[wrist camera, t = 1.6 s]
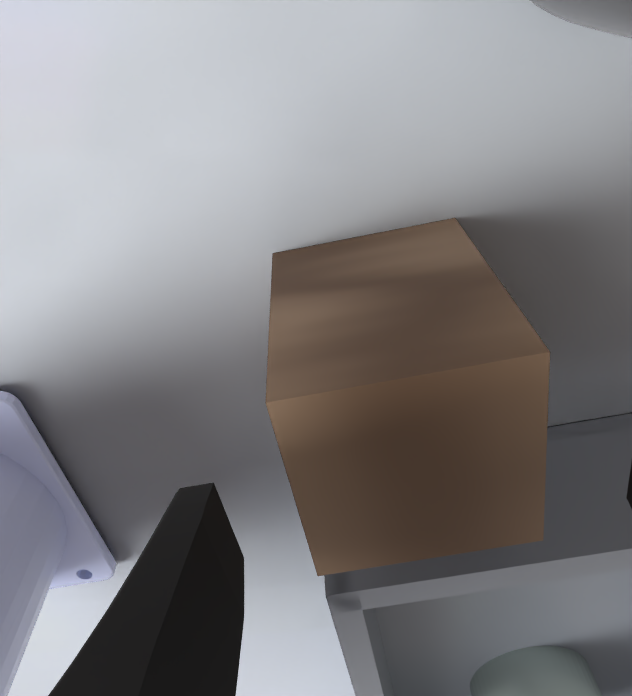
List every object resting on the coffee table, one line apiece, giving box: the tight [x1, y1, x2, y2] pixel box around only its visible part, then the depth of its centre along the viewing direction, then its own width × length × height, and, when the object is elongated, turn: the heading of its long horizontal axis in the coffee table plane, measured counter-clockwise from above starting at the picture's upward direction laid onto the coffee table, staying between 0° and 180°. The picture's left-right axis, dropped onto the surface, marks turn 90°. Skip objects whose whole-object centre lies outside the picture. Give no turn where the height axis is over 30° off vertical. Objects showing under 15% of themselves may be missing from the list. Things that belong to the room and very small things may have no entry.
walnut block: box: [265, 218, 550, 576], centre depth 13 cm, size 4×4×6 cm
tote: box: [324, 413, 632, 696], centre depth 21 cm, size 13×18×4 cm
